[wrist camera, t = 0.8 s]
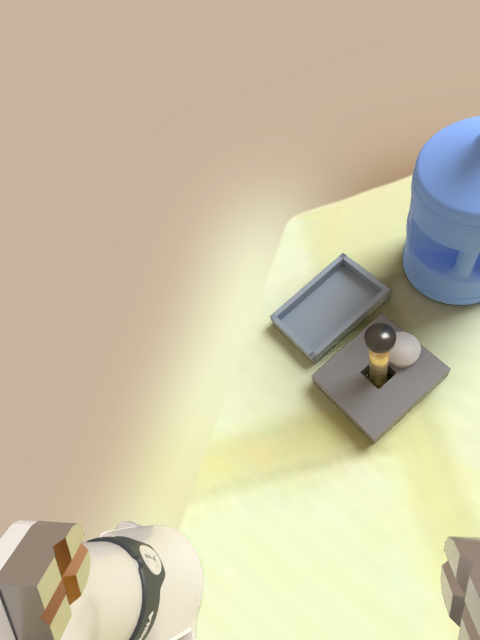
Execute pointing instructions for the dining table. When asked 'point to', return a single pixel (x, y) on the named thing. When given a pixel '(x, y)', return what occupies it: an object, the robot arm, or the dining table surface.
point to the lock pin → (379, 351)
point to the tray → (330, 307)
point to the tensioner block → (394, 396)
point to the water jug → (446, 216)
